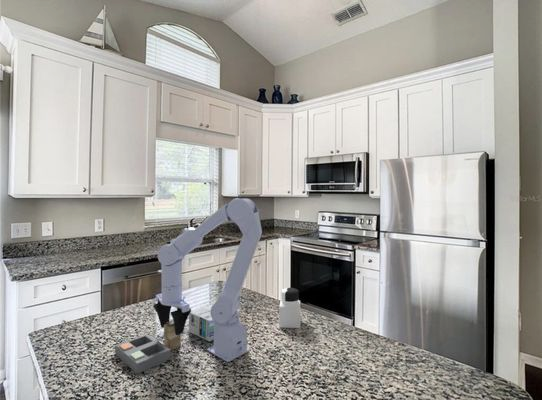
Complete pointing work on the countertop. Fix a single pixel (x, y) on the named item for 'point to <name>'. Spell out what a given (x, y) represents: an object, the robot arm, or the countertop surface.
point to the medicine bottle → (289, 308)
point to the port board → (147, 350)
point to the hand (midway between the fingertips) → (171, 330)
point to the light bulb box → (202, 323)
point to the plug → (171, 336)
